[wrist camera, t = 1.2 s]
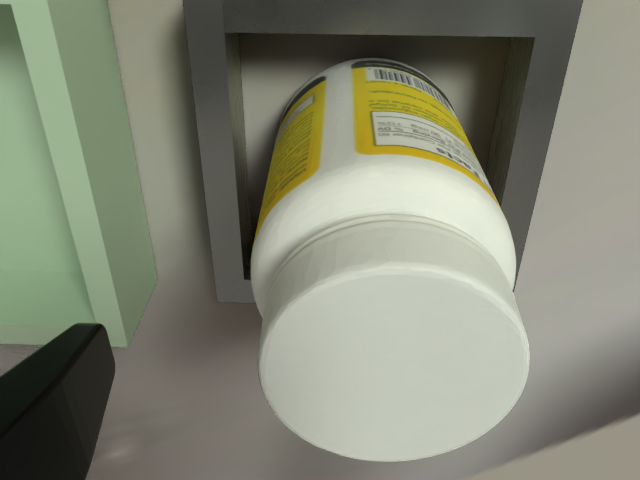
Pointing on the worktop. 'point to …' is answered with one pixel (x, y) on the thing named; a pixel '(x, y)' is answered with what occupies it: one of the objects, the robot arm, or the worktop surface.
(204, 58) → the pin socket
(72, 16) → the tray
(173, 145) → the worktop surface
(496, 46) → the worktop surface
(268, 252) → the supplement bottle
